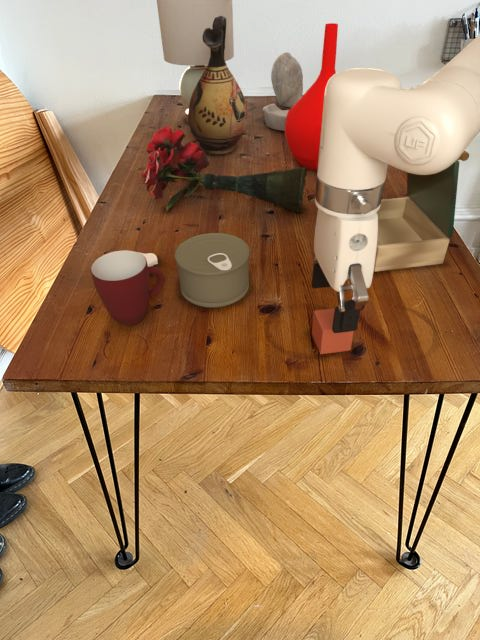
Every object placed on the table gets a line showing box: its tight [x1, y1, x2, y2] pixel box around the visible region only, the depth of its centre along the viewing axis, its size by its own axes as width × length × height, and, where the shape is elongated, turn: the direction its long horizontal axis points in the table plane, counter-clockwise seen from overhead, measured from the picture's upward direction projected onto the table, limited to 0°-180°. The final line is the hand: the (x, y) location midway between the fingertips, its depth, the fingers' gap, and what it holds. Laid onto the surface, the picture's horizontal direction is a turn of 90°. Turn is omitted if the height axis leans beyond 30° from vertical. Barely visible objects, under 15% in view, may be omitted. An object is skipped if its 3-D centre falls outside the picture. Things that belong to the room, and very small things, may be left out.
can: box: [174, 232, 251, 308], centre depth 79 cm, size 12×12×7 cm
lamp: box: [156, 0, 235, 123], centre depth 136 cm, size 20×20×35 cm
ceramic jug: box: [187, 16, 249, 156], centre depth 120 cm, size 17×15×30 cm
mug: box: [90, 249, 165, 327], centre depth 73 cm, size 11×8×10 cm
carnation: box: [140, 126, 308, 214], centre depth 102 cm, size 16×18×35 cm
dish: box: [262, 103, 291, 132], centre depth 139 cm, size 14×14×5 cm
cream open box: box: [373, 196, 451, 273], centre depth 88 cm, size 13×17×5 cm
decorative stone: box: [270, 52, 304, 109], centre depth 152 cm, size 15×10×15 cm
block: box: [311, 307, 355, 355], centre depth 68 cm, size 4×4×4 cm
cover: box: [406, 149, 470, 239], centre depth 83 cm, size 14×17×5 cm
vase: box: [284, 22, 339, 172], centre depth 110 cm, size 18×18×30 cm
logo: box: [137, 251, 159, 267], centre depth 86 cm, size 6×1×8 cm
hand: (332, 307), depth 66 cm, fingers open, 9 cm apart
